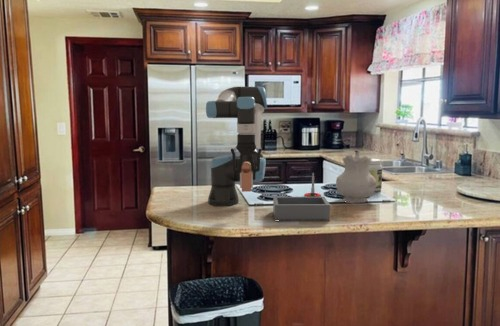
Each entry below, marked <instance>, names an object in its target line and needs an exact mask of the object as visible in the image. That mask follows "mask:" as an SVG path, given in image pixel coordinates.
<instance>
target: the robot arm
mask: <svg viewBox="0 0 500 326" xmlns="http://www.w3.org/2000/svg"><path fill="white" fill-rule="evenodd" d="M205 104H206V105H205V115H206V117H207V118H208V119H236V120H237V122H236V127H237V128H236V132H237V133H238V134H237V135H236V137H237V140H236V141H237V144H236V146H235V147H231V148H230V153H231V154H223V155H218V156H215V157H213V158H212V159H211V161H210V172H211V174H210V181H211V183H210V184H211V185H210V186H211V188H210V191H209V194H208V198H207V203H208V204H209V205H211V206H217V207H227V206H233V205H237V204H239V201H240V199H239V194H238V192H237V189H236V182H237V183H239V188H240V189H242V164H243V163H244V162H249V163H250V164H251V189H253V188H254V183H257V182H259V183H260V182H263V181H264V178H265V173H266V165H267V164H266V163H267V159H266V158H265V157H264V155H263V153H262V151H263V150H262V147H261V135H262V133H261V131H262V114H263V113H264V112H265V110H266V109H268V103H267V94H266V88H265V87H264V86H257V85H256V86H232V87H230V88H229V87H228V88H227V89H225V90H222V91H221V92H220V93H219V95H218V97H217V99H216V100H208V101H207V102H206V103H205ZM237 151H238V153H239V157H236V156H237V155H236V153H237Z"/></svg>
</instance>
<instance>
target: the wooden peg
mask: <svg viewBox="0 0 500 326" xmlns="http://www.w3.org/2000/svg"><path fill="white" fill-rule="evenodd" d="M241 192H244V193H245V192H246V193H247V192H252V188H251V164H250V163H249V162H244V163H243V164H242V188H241Z"/></svg>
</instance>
